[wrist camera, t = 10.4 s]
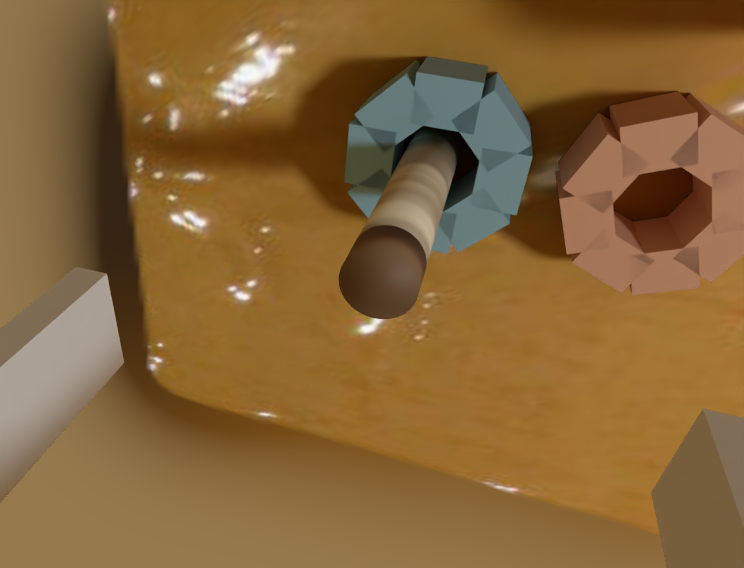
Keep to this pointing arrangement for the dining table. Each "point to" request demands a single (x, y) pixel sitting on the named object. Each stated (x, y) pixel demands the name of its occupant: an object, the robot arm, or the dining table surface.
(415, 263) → the wooden dowel handle
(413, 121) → the bead
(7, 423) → the robot arm
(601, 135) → the bead terracotta
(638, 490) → the dining table surface
